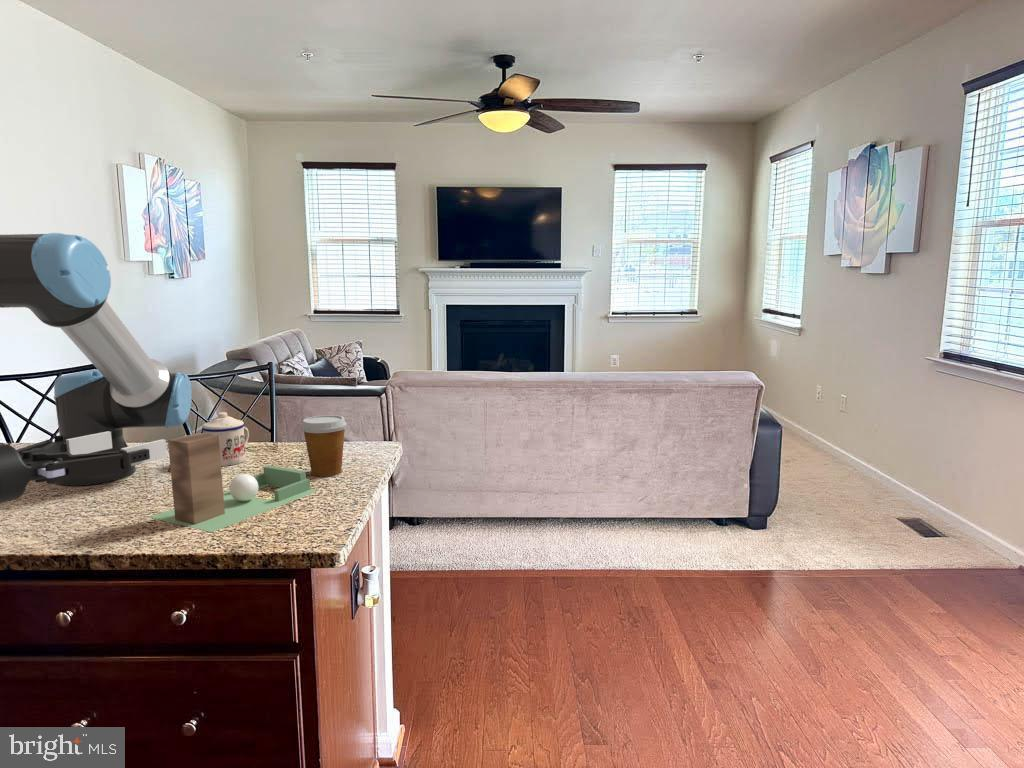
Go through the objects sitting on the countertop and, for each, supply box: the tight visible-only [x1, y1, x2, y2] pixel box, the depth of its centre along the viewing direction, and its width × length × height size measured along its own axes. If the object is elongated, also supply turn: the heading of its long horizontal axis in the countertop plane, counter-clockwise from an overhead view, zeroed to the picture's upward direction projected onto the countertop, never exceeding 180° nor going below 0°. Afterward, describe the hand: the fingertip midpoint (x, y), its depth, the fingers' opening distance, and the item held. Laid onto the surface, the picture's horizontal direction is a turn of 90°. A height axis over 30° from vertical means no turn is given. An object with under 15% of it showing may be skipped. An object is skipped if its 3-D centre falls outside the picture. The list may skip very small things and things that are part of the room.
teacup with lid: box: [201, 411, 250, 467], centre depth 159 cm, size 12×9×12 cm
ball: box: [228, 473, 259, 501], centre depth 125 cm, size 5×5×5 cm
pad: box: [149, 465, 318, 533], centre depth 124 cm, size 16×24×5 cm, turn 152°
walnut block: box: [167, 432, 225, 525], centre depth 116 cm, size 5×6×14 cm
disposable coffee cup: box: [300, 414, 347, 477], centre depth 147 cm, size 10×10×12 cm
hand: (137, 443), depth 106 cm, fingers open, 13 cm apart
